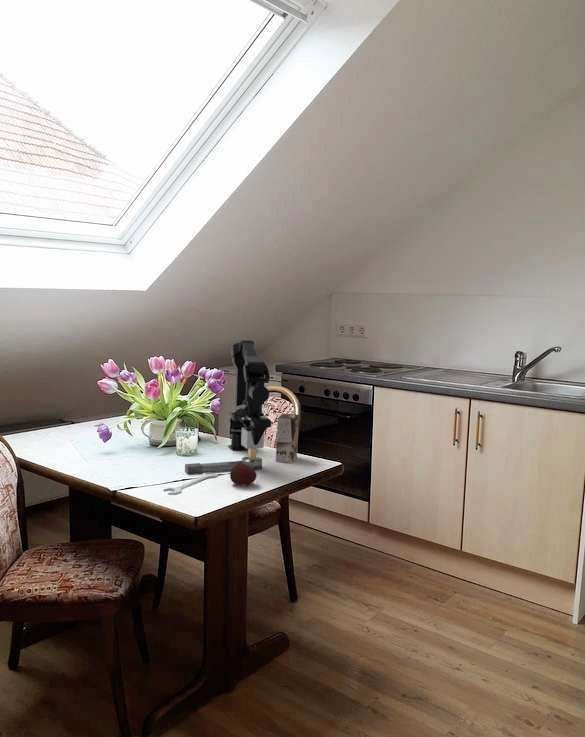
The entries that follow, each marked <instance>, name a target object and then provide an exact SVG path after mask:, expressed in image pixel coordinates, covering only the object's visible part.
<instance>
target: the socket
mask: <svg viewBox="0 0 585 737" xmlns="http://www.w3.org/2000/svg"><path fill="white" fill-rule="evenodd" d="M241 445H243V446H244V447H245V448H247V450H248V449H251V448H257V449H264V446H265V432H264V433H263V435H262V437H261V439H260V441H259V443H258V445H254V440H253V430H252V429H251V428H250V427H242V435H241Z"/></svg>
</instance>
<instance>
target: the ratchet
mask: <svg viewBox="0 0 585 737" xmlns="http://www.w3.org/2000/svg"><path fill="white" fill-rule="evenodd" d="M257 449H258V448H251V449H247V456H244V457H242V458H241V460H235V461H222V462H221V461H220V462H208V463H200V462H199V463H198V462H197V463H185V464H184V471H185V473H186V475H194V474H196V473H197V474H203V473H217V472H220V473H221V472H231V469H232V468H233V466H234V465H236V464H238V463H245V464H247V465H249V466H251V467H252V468H253V469H254V470H255V471H260V470H262V468H263V459H262V457H258V456H257Z"/></svg>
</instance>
